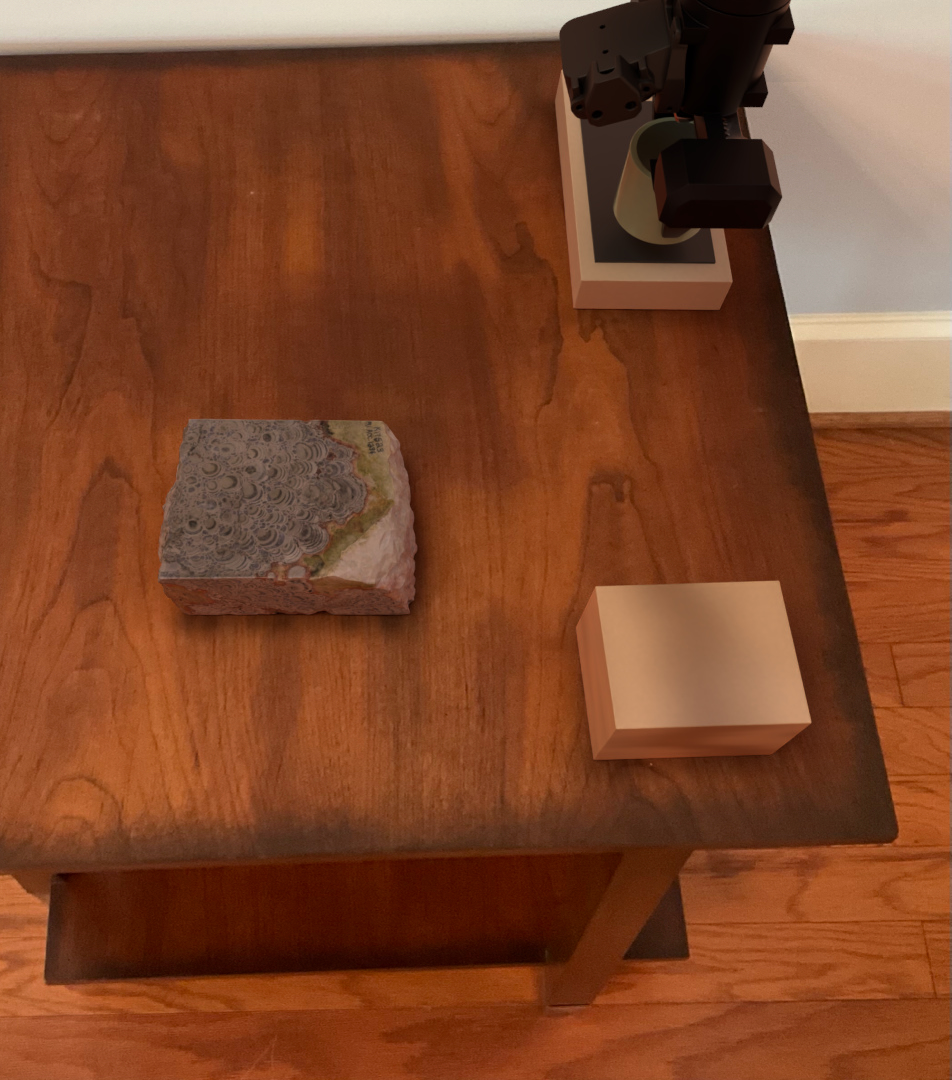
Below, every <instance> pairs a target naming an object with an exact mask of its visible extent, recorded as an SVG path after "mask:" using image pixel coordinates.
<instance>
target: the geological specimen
mask: <svg viewBox="0 0 952 1080" xmlns="http://www.w3.org/2000/svg"><path fill="white" fill-rule="evenodd" d="M409 481H410V480H409V474H408V471H407V469H406V467H405V462H404V457H403V454H402V451H401V442H400V441H399V439H398V438H397V437H396V436H395V434H394V432H393V431H392V430H391V429H390V428H389V426H388V424H387V423H385V422H384V421H383V420H346V419H345V420H343V419H310V420H307V421H306V420H301V419H236V418H235V419H233V418H232V419H231V418H230V419H226V418H225V419H224V418H223V419H222V418H189V419H188V423H187V424H186V426H185V427H183V431H182V442H181V443H180V445H179V448H178V464H177V465H176V472H175V481H174V483H173V485H172V486H171V488H170V489H169V491H168V492H167V494H166V497H165V503H164V504H163V505H162V506H161V508H162V510H163V519H162V523H161V526H160V533H159V537H158V548H157V555H158V559H159V562H160V566H159V568H158V573H157V583H158V584H161V586H162V591H163V594H164V595H165V596H166V597H167V598H168V599H170V600H171V602H172V603H173V604H174V605H175V607H177V608H178V609H179V610H180V611H181V612H182V613H183V614H185V615H188V616H221V615H222V616H223V615H235V616H256V615H277V613H280V614H281V613H282V614H285V615H299V614H301V615H314V614H317V612H322V611H323V612H324V611H325V612H326V613H328V614H330V615H333V616H335V615H338V616H339V615H340V616H341V615H342V616H343V615H346V616H347V615H351V616H353V615H355V616H357V615H359V616H362V615H363V616H364V615H366V616H367V615H368V616H369V615H370V616H371V615H374V616H375V615H376V616H377V615H378V616H379V615H380V616H381V615H382V616H384V615H388V616H402V615H410V614H411V610H410V608H409V605H410V603H412V602H414V601H415V595H416V588H415V584H416V581H417V579H416V577H415V575H414V574H415V570H416V560H415V554H417V552H418V545H417V543H416V534H415V531H414V522H415V513H414V511H413V510H412V507H411V505H410V504H411V499H412V497H411V495H412V494H411V486H410V483H409Z"/></svg>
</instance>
